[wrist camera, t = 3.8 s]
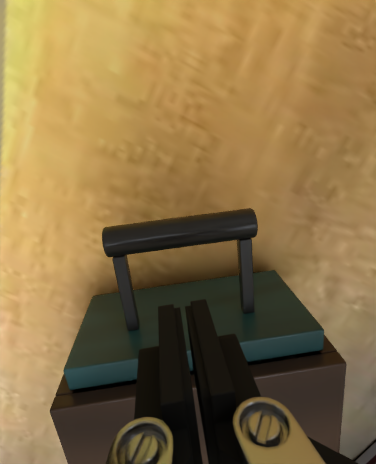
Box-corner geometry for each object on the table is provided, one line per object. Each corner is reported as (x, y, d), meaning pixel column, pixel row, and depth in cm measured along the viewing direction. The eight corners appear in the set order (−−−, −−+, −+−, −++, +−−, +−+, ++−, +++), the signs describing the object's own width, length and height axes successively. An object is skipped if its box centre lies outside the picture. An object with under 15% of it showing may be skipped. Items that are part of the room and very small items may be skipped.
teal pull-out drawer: (71, 212, 17) (26, 255, 11) (273, 186, 18) (330, 214, 12) (126, 436, 23) (115, 541, 17) (276, 410, 24) (316, 504, 18)
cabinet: (89, 305, 20) (48, 411, 13) (278, 277, 21) (347, 362, 13) (125, 446, 25) (110, 587, 17) (280, 420, 26) (332, 544, 18)
